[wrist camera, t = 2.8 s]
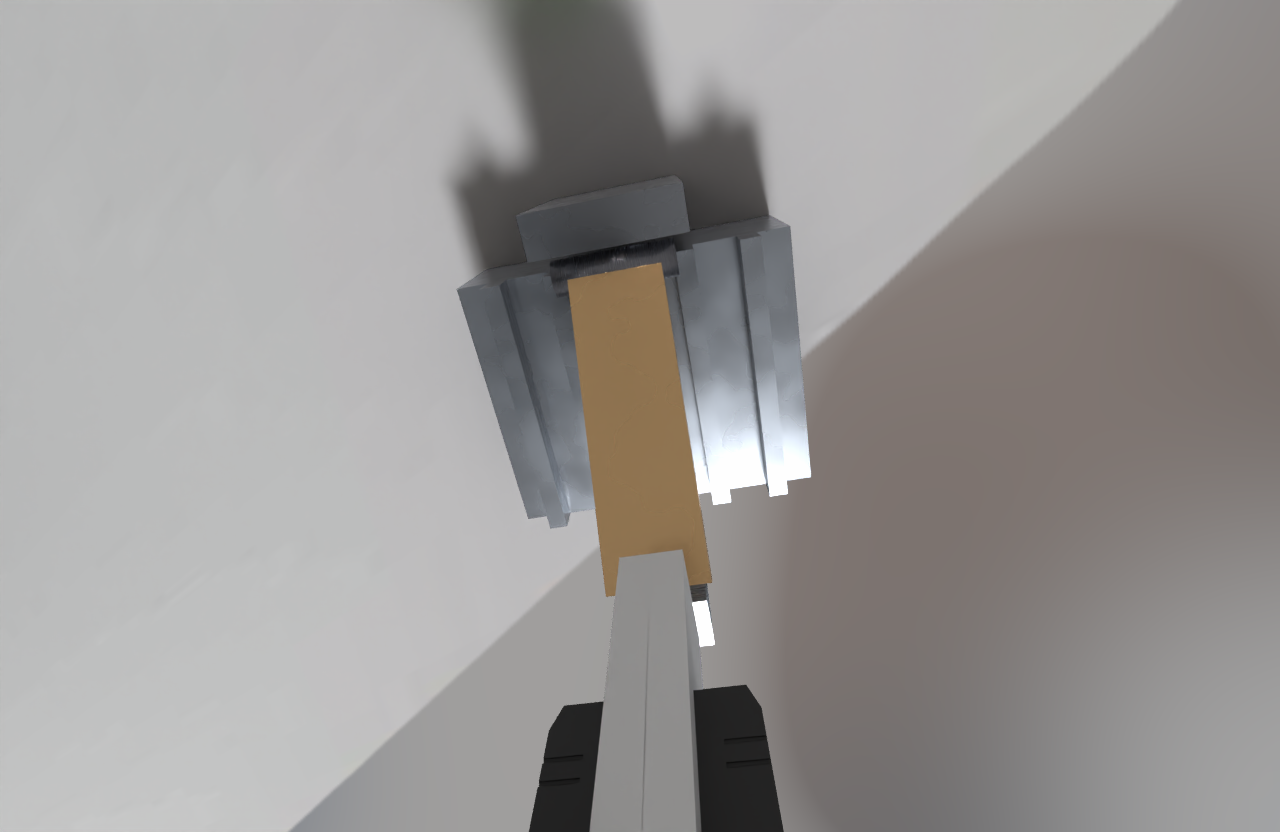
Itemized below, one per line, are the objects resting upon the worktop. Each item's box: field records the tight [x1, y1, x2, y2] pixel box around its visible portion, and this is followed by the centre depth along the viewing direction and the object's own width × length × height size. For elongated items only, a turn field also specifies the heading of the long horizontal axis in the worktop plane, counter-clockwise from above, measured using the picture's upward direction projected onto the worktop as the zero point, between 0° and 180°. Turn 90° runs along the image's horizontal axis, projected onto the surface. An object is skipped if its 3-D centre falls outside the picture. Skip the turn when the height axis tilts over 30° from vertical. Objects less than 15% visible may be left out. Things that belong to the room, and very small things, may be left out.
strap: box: [550, 237, 712, 597], centre depth 18 cm, size 4×11×1 cm
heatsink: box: [457, 175, 811, 646], centre depth 21 cm, size 12×14×11 cm
